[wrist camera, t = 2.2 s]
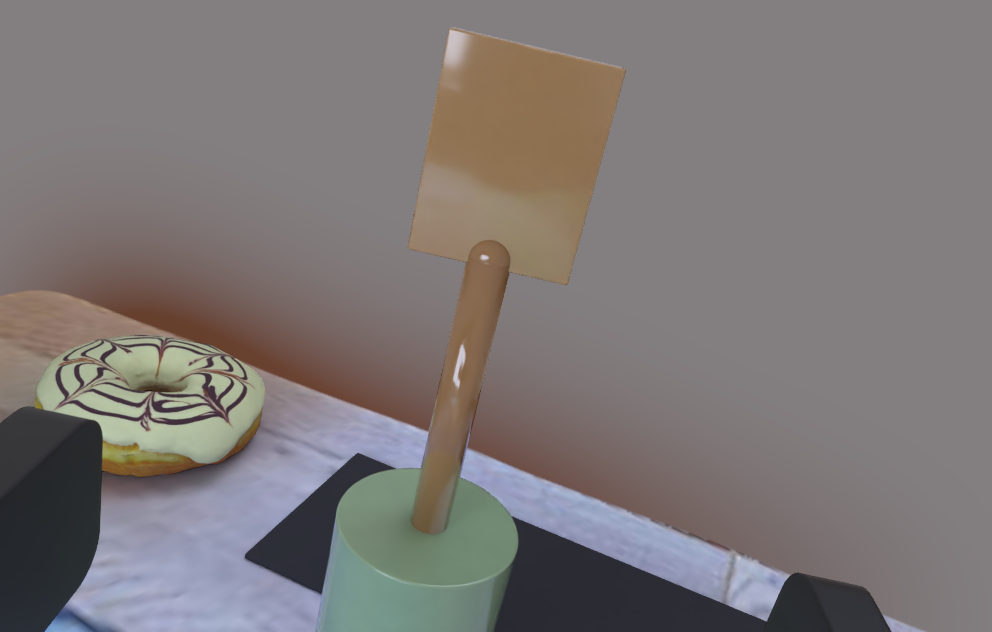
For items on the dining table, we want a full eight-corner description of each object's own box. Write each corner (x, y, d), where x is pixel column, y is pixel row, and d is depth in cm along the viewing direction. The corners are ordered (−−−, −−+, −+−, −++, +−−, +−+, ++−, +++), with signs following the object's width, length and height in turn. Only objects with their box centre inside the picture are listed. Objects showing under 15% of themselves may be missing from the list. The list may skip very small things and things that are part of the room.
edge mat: (244, 557, 35) (245, 553, 35) (357, 455, 44) (357, 452, 44) (909, 868, 28) (911, 864, 28) (882, 672, 37) (884, 669, 37)
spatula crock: (266, 848, 24) (404, 24, 15) (312, 706, 29) (437, 17, 20) (434, 882, 24) (669, 87, 15) (452, 735, 29) (639, 64, 20)
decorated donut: (252, 499, 39) (261, 433, 37) (4, 485, 36) (3, 414, 34) (264, 390, 48) (271, 334, 47) (68, 373, 45) (69, 312, 44)
